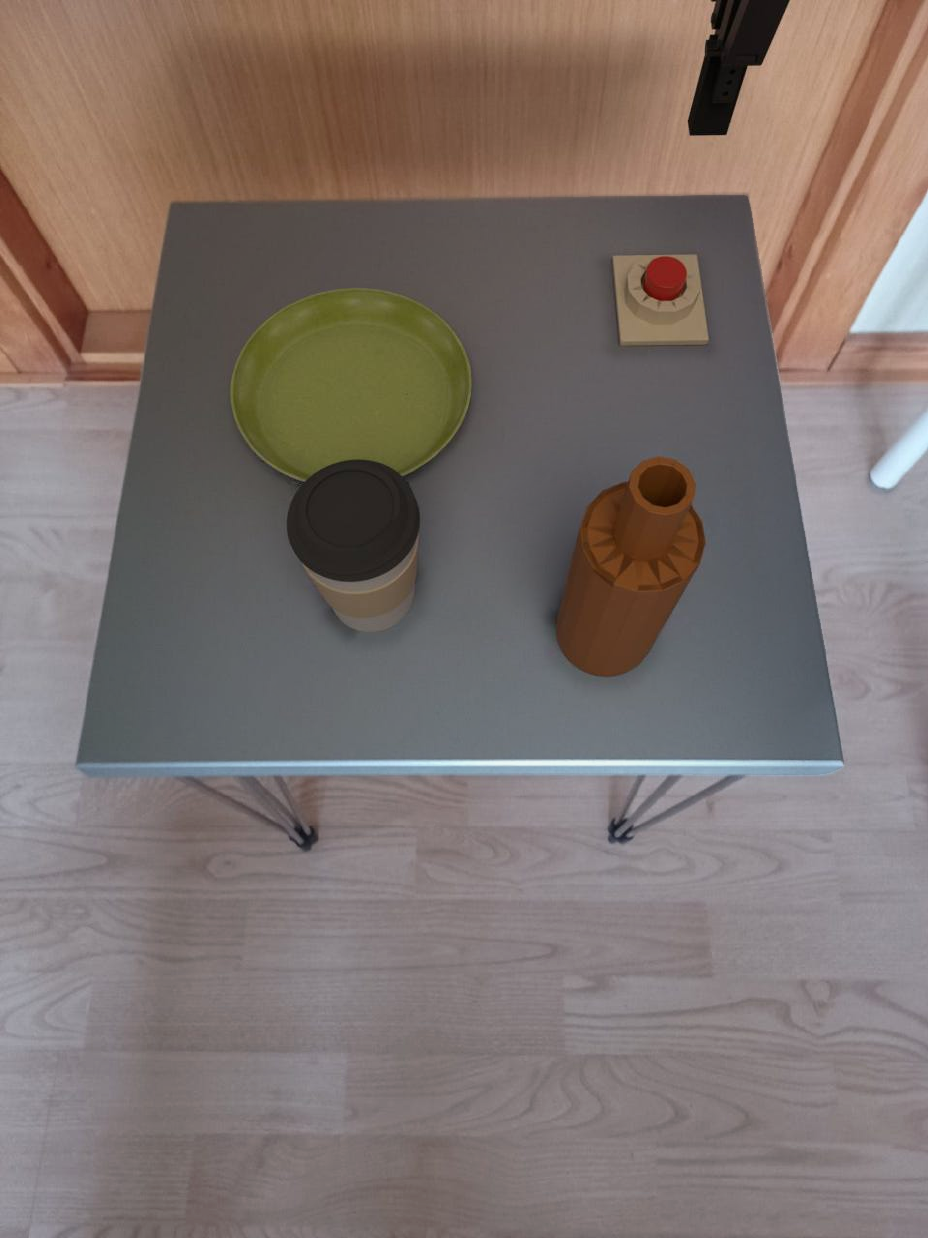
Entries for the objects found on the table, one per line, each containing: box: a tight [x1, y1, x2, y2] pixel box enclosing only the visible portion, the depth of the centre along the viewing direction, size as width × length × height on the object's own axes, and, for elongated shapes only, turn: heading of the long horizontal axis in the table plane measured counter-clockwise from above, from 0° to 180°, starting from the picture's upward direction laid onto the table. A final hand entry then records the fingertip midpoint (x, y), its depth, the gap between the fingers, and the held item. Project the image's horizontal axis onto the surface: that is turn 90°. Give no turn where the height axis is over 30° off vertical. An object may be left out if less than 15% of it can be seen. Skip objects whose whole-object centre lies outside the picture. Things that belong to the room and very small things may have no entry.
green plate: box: [229, 287, 472, 483], centre depth 76 cm, size 21×21×3 cm
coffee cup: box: [286, 459, 421, 633], centre depth 64 cm, size 9×9×15 cm
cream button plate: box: [611, 253, 710, 347], centre depth 80 cm, size 10×8×2 cm
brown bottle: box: [555, 456, 707, 678], centre depth 59 cm, size 8×8×23 cm
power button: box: [643, 256, 687, 301], centre depth 78 cm, size 4×4×2 cm
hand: (706, 127), depth 64 cm, fingers closed
